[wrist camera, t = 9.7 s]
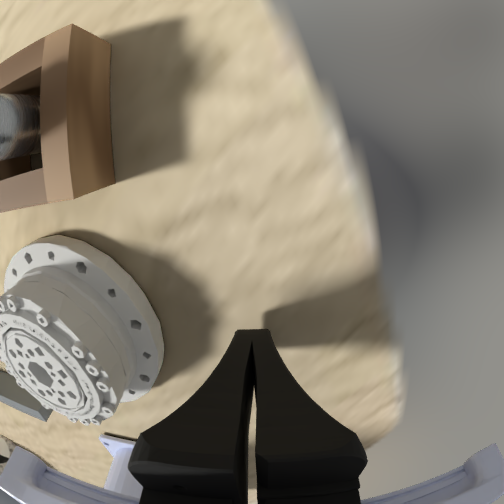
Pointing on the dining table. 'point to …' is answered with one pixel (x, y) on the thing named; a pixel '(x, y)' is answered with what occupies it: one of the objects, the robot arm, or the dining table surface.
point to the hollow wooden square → (61, 118)
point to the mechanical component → (77, 329)
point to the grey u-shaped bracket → (21, 398)
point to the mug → (5, 451)
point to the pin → (19, 125)
